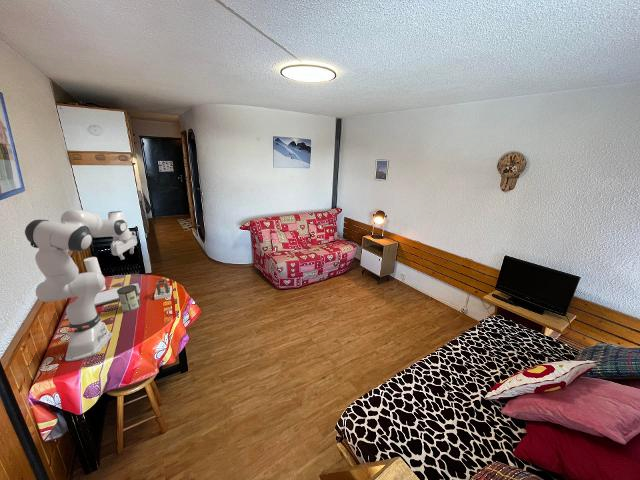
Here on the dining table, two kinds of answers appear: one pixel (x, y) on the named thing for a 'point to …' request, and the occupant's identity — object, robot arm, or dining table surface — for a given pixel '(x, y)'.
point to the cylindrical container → (93, 266)
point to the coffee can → (129, 297)
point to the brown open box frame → (160, 285)
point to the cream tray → (163, 294)
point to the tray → (109, 295)
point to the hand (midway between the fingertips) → (127, 256)
